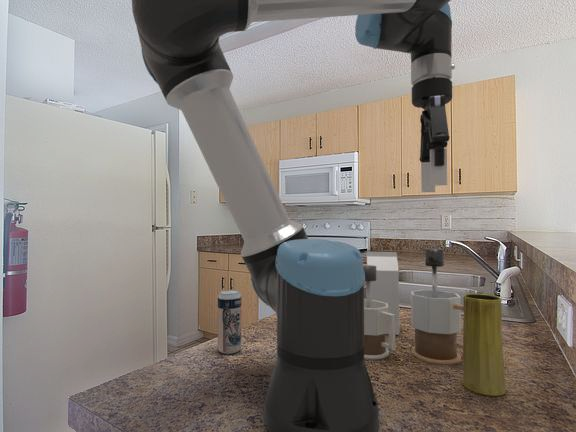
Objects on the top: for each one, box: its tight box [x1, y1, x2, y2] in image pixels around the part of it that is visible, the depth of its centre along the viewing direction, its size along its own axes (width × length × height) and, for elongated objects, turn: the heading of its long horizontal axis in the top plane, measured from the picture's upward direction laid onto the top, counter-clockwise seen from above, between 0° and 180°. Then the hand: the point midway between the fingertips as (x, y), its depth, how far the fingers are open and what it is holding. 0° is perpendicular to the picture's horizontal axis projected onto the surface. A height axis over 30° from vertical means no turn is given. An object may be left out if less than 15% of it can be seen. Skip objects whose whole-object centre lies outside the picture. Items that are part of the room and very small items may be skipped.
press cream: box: [363, 264, 396, 361], centre depth 68 cm, size 8×10×17 cm
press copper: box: [410, 289, 464, 366], centre depth 66 cm, size 9×12×12 cm
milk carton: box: [366, 251, 400, 336], centre depth 83 cm, size 7×7×19 cm
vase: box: [461, 292, 507, 397], centre depth 54 cm, size 6×6×14 cm
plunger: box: [424, 248, 445, 298], centre depth 67 cm, size 6×6×14 cm
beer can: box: [217, 289, 242, 355], centre depth 70 cm, size 5×5×12 cm
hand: (432, 189), depth 68 cm, fingers open, 13 cm apart
